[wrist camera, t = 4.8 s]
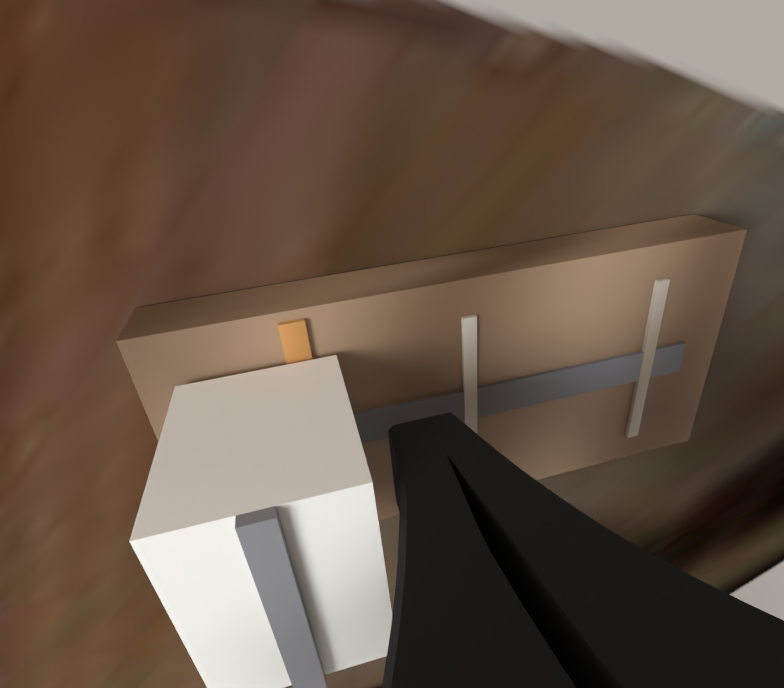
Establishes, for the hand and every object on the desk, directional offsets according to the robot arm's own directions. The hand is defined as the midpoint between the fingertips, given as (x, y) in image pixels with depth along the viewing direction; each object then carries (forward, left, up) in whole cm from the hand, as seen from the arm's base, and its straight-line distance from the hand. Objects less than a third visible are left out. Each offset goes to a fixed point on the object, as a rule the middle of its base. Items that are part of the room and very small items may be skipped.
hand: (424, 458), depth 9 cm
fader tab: (+3, 0, -1) cm, 3 cm away
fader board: (-2, 0, -3) cm, 3 cm away
